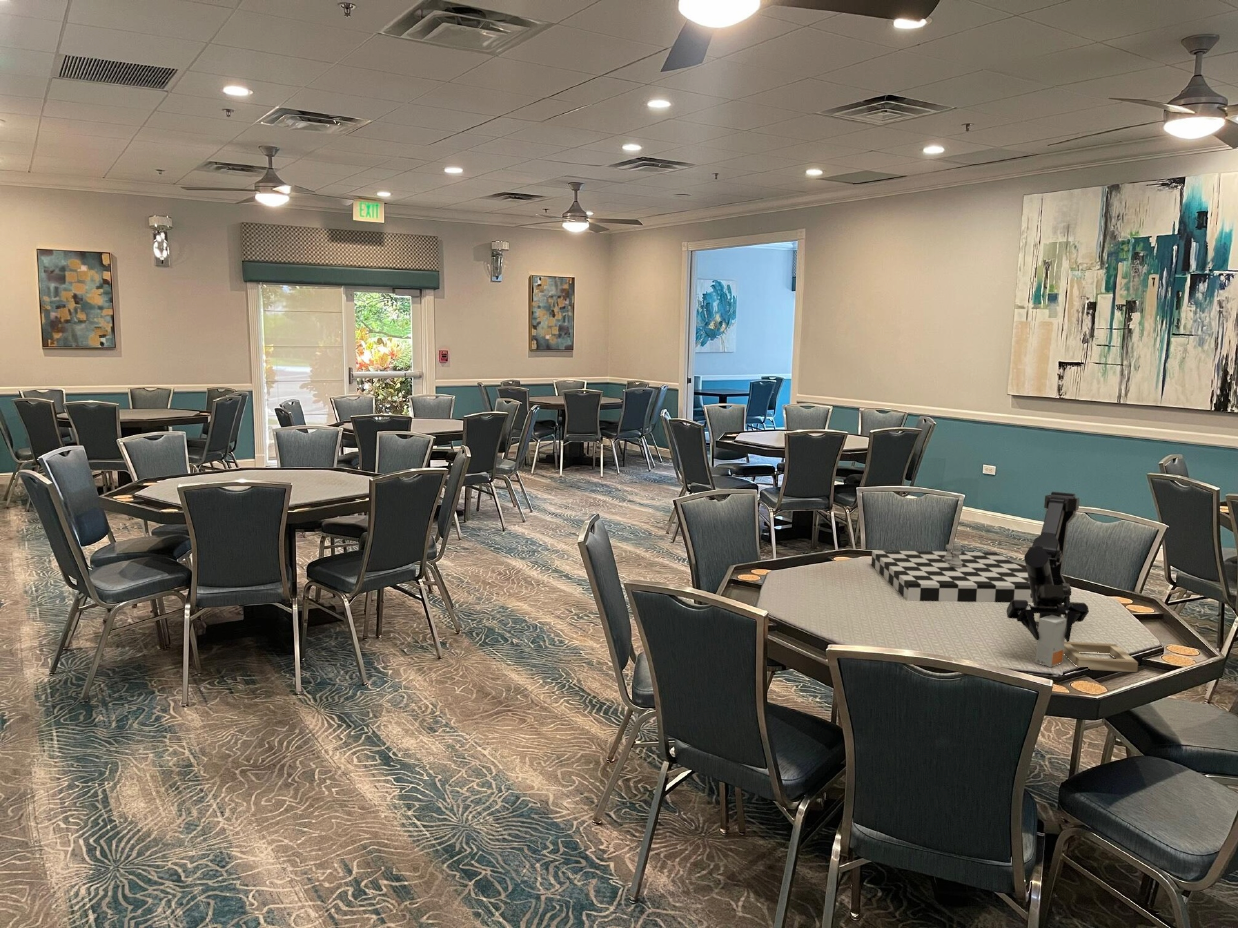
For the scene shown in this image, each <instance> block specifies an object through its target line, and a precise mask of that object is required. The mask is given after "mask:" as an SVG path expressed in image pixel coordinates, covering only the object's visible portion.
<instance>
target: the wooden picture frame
mask: <svg viewBox="0 0 1238 928" xmlns="http://www.w3.org/2000/svg"><path fill="white" fill-rule="evenodd" d="M1079 652H1097V653H1098V652H1099V653H1110V654H1111V655H1112V656H1114V657H1115V658H1116V659H1113V658H1107V657H1106V658H1105V657H1089V656H1088V657H1087V656H1084V655H1083V654H1080V653H1079ZM1063 654H1065V656H1067V658H1069V659H1070V660H1071V661H1072V662H1073V663H1074V664H1075V665H1077V666H1078V667H1088V668H1089V669H1090V670H1091V671H1092V670H1093V671H1109V672H1125V673H1126V672H1128V673H1130V672H1131V673H1138V667H1139V662H1138V661H1137V660H1136V659H1134V658H1133V657H1132V655H1131V656H1130V655H1129V654H1128V653H1127V652H1126V651H1124V650H1123V649H1122V648H1121V647H1119V646H1118V645H1117V644H1116V643H1102V642H1101V643H1100V642H1082V641H1069V642H1067V641H1066V640H1065V641H1064V651H1063ZM1065 656H1064V657H1065ZM1067 658H1066V659H1067ZM1070 660H1069V661H1070ZM1071 661H1070V662H1071ZM1072 662H1071V663H1072ZM1073 663H1072V664H1073ZM1074 664H1073V665H1074ZM1075 665H1074V666H1075Z"/></svg>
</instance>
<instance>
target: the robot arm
mask: <svg viewBox="0 0 1238 928" xmlns="http://www.w3.org/2000/svg"><path fill="white" fill-rule="evenodd" d="M1043 503H1044V505H1043V508H1044V509H1046V512H1045V517H1044V520H1043V524H1042V528H1041V532H1040V535H1038V536H1037V537H1036V538H1034V539H1033V543H1032V545H1031V546H1030V547H1029V548H1028V550H1027V551H1026V553H1025V554H1024V557H1023V559H1024V564H1025V567H1026V569H1025V570H1026V571H1027V573H1028V578H1029V584H1030V589H1031V594H1030V597H1031V598H1032V599H1033V603H1032V604H1033V605H1031V603H1028V601H1027V600H1014V599H1013V600H1012V601H1011V602H1009V604H1008V605H1007V607H1006V616H1007V618H1008V619H1015V620H1016V621H1017V622H1020V623H1022V625H1023V626H1024V627H1025V628H1026V629H1027V630H1028V632H1030V634H1031V635H1032V636H1033V638H1034V639H1035V640H1036V641H1037V640H1039V634H1038V627H1039V621H1036V619H1035V614H1039V616H1038V620H1039V619H1040V618H1043V617H1045V616H1050V615H1054V616H1058V617H1062V616H1063V617H1062V618H1065V619H1067V620H1066V631H1065V641H1066V642H1070V639H1071V633H1072V629H1073V625H1074V624H1075V623H1076V622H1077V623H1079V622H1080V623H1081V622H1083V621H1084V620H1085V618H1086V617H1087V616H1088V614H1089V613H1090V610H1089V607H1088V605H1087V604H1086V603H1085V602H1075V601H1073V602H1072V601H1071V595H1072V587H1071V584H1070V583H1067V582H1066V580H1065V578H1064V576H1063V569H1064V568H1063V567H1064V559H1065V551H1066V544H1067V536H1068V527H1069V524H1070V522H1072V521H1073V520H1074V518H1075V517H1076V514H1077V511H1078V510H1079V507H1080V497H1076V493H1070V492H1069V493H1068V492H1060V491H1051V493H1050V494H1046V495H1044V502H1043Z"/></svg>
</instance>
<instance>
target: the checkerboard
mask: <svg viewBox="0 0 1238 928" xmlns="http://www.w3.org/2000/svg"><path fill="white" fill-rule="evenodd" d="M945 549H946V550H947V551H932V550H930V551H926V550H925V551H922V550H921V551H918V550H913V551H912V550H909V551H908V550H872V551H871V566H872V568H874V569H875V570H876V572H877V573H879V574H880V576H882V577H883V578H884V579H885V581H887V582H888V583H889V584H890V585H891V586H892V587H893V588H894V589H895V590H896V591H897V592H898V593H899V594H900V595H901V596H902V597H904V599H905V600H906V601H908V602H953V603H954V602H960V603H962V602H964V603H1010V602H1011V601H1012V600H1013V599H1014V600H1027V601H1028V604H1033V599H1032V598H1031V597H1030V594H1031V589H1030V584H1029V578H1028V573H1027V569H1024V568H1023V567H1021V566H1019V565H1018V564H1016V563H1014V562H1013V561H1012V560H1010V559H1008V558H1006V557H1004V556H1003V555H1002V554H1000V553H998V552H995V551H994V552H993V551H992V552H991V551H987V552H986V551H985V552H984V551H983V552H982V551H979V552H977V551H970V552H969V551H961V549H962V545H961V542H960V541H955V542H954V543H953V544H945Z"/></svg>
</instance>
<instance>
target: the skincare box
mask: <svg viewBox="0 0 1238 928" xmlns="http://www.w3.org/2000/svg"><path fill="white" fill-rule="evenodd" d="M1066 620H1067V619H1065V618H1064V617H1062V616H1061V617H1058V616H1054V615H1050V616H1045V617H1043V618H1040V619H1039V618H1038V622H1039V627H1038V626H1037V630H1038V634H1039V640H1036V642H1037V643H1036V649H1035V660H1034V661H1035V662H1036V663H1035V664H1037V663H1041V664H1043V665H1042V666H1044V665H1047V666H1049V667H1048V668H1052V666H1053V667H1055V666H1058V665H1060V664H1059V663H1062V664H1063V661H1064V655H1063V651H1064V641H1066V639H1065V631H1066ZM1057 664H1058V665H1057ZM1054 665H1055V666H1054ZM1047 666H1046V667H1047Z"/></svg>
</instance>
